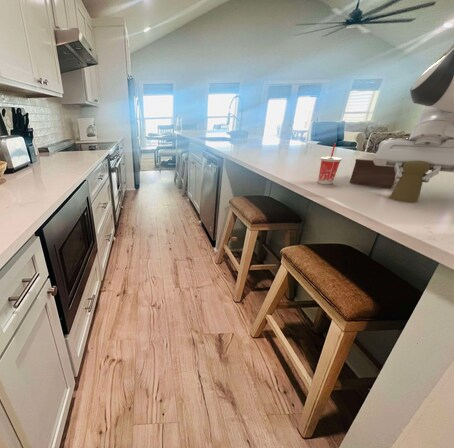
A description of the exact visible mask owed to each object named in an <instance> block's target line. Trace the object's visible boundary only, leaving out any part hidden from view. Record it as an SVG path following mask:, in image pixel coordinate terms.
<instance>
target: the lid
mask: <svg viewBox="0 0 454 448" xmlns="http://www.w3.org/2000/svg"><path fill="white" fill-rule="evenodd" d="M375 154H376V153H374V154H373V153H366V154H363V155H361V156H359V157H358V158H355V162H356V161H357V162H368V163H373V159H374V156H375Z"/></svg>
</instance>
